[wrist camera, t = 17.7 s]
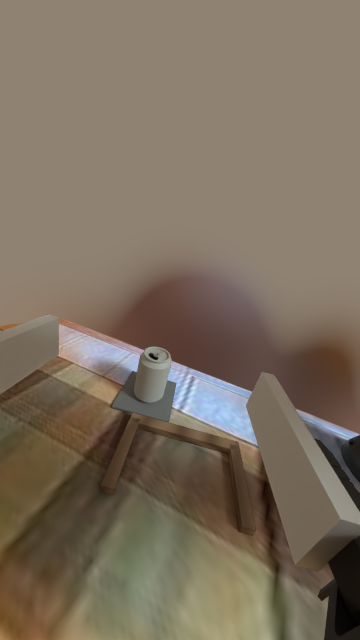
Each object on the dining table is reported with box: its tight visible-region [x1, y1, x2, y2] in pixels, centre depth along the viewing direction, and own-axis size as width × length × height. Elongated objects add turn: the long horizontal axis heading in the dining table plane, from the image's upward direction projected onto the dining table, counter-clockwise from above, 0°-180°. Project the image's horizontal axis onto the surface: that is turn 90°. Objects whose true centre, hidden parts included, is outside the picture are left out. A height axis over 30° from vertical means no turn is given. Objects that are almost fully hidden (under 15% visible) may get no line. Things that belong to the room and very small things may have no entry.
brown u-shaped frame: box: [100, 413, 256, 535], centre depth 32 cm, size 23×13×2 cm, turn 83°
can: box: [134, 347, 172, 403], centre depth 43 cm, size 8×8×12 cm
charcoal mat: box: [111, 371, 176, 423], centre depth 46 cm, size 13×13×1 cm
